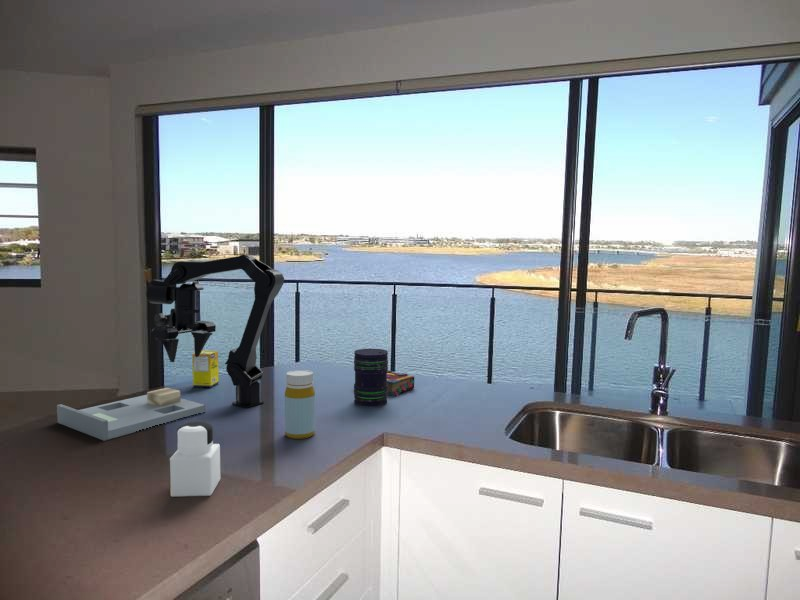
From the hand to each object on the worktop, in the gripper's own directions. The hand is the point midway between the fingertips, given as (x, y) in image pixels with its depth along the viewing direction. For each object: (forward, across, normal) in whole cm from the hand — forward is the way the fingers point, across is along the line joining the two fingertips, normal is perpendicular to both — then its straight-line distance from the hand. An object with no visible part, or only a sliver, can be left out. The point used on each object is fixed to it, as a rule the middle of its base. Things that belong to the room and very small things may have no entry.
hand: (184, 359), depth 155 cm
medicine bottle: (+11, +42, +46) cm, 64 cm away
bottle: (+11, +10, +47) cm, 49 cm away
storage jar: (+10, -22, +49) cm, 55 cm away
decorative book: (+11, -39, +46) cm, 62 cm away
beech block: (+10, +9, +2) cm, 14 cm away
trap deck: (+12, +17, +1) cm, 21 cm away
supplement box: (+12, -16, -7) cm, 21 cm away
